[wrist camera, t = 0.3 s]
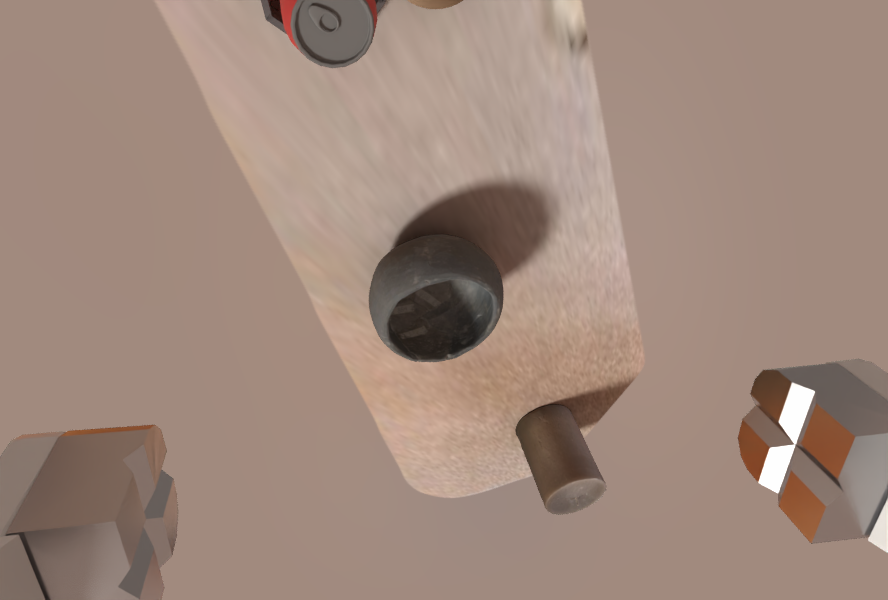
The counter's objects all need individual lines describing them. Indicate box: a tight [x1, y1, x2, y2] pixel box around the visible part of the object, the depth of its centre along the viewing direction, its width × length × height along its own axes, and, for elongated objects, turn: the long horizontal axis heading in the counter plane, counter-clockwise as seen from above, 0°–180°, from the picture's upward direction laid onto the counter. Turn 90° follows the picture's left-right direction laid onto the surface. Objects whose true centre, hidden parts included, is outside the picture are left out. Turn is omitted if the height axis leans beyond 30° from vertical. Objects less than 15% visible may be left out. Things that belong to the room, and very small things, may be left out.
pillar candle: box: [516, 405, 606, 515], centre depth 97 cm, size 10×10×15 cm
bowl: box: [369, 234, 503, 362], centre depth 70 cm, size 15×15×10 cm
